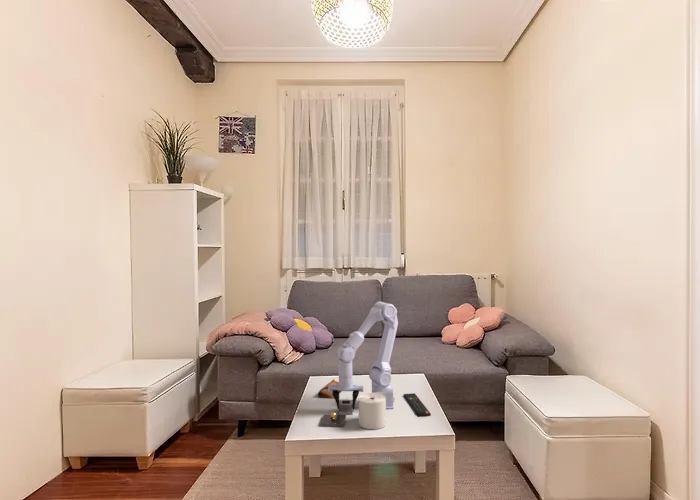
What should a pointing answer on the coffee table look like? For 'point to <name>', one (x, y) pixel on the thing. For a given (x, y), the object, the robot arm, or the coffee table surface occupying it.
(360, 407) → the toilet tissue
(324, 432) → the coffee table surface
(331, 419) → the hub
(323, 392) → the sunglasses case
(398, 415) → the coffee table surface
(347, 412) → the grey stepped block
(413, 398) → the remote control
